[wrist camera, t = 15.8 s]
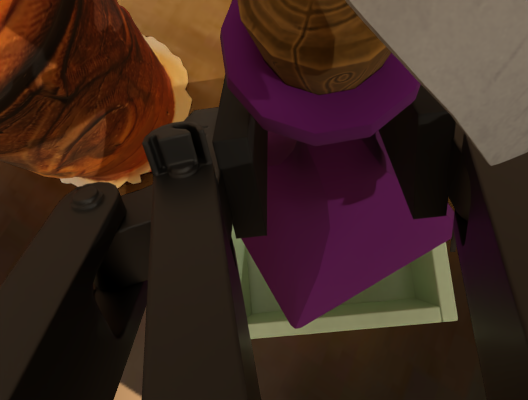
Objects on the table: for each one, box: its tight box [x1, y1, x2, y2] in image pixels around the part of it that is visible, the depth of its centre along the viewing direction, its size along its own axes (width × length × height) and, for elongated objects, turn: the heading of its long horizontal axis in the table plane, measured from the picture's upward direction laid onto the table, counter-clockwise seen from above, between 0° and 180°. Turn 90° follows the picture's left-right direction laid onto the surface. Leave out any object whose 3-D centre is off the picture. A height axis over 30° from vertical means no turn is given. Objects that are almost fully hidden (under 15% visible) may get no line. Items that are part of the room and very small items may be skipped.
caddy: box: [231, 224, 458, 339], centre depth 28 cm, size 12×12×7 cm
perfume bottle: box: [220, 0, 528, 329], centre depth 12 cm, size 8×8×18 cm
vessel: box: [0, 0, 192, 188], centre depth 25 cm, size 14×14×20 cm
